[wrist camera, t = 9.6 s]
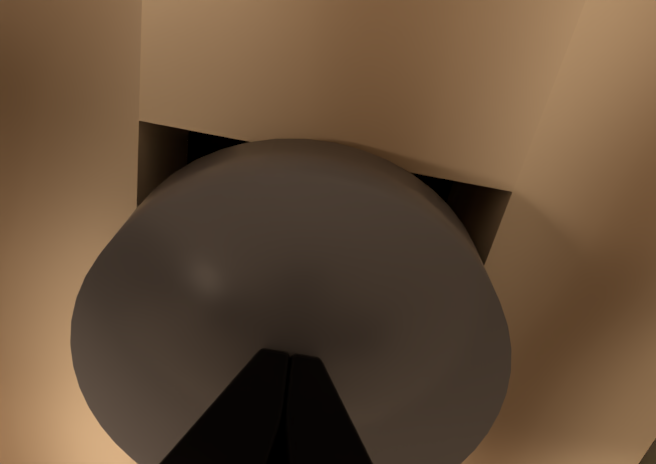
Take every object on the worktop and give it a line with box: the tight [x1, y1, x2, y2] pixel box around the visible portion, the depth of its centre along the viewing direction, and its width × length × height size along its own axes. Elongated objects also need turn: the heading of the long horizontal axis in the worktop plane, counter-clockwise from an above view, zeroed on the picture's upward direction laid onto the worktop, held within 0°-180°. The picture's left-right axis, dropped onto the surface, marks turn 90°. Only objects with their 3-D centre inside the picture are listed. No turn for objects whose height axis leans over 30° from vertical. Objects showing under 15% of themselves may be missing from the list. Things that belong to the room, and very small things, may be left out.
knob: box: [70, 139, 511, 464], centre depth 9 cm, size 6×6×4 cm
